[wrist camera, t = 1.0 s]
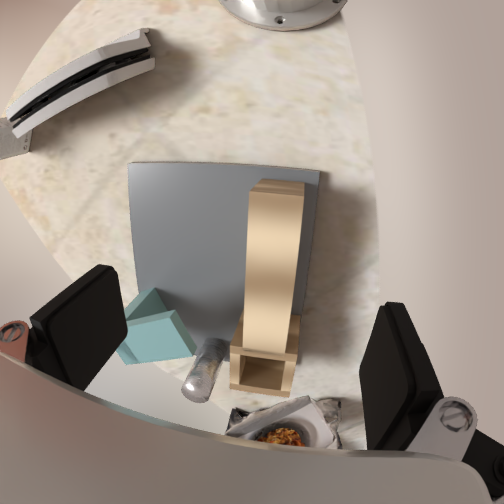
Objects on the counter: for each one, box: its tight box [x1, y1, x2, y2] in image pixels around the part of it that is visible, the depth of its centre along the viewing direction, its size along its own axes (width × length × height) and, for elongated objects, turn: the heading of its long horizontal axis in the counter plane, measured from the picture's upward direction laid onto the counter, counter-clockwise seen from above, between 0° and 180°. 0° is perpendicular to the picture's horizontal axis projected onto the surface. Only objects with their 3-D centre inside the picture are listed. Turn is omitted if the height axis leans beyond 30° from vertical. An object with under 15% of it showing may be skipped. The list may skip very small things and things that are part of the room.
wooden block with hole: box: [230, 178, 304, 397], centre depth 26 cm, size 19×6×6 cm, turn 177°
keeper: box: [116, 287, 197, 365], centre depth 28 cm, size 4×8×8 cm, turn 112°
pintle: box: [181, 337, 227, 403], centre depth 30 cm, size 3×3×8 cm
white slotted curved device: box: [6, 28, 155, 139], centre depth 21 cm, size 17×5×10 cm, turn 99°
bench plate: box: [128, 162, 320, 362], centre depth 30 cm, size 22×18×1 cm
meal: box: [225, 396, 342, 449], centre depth 31 cm, size 15×4×13 cm, turn 113°
